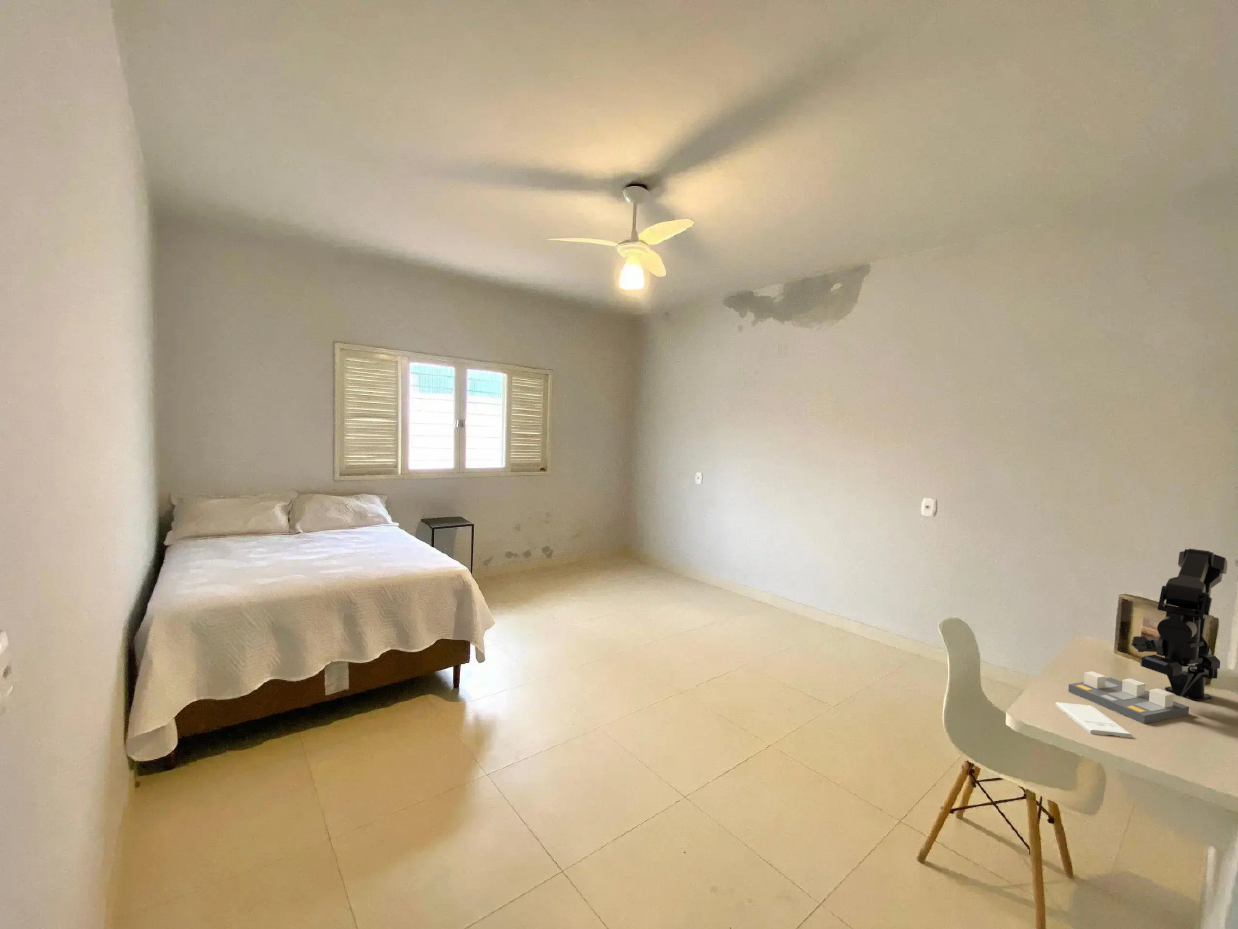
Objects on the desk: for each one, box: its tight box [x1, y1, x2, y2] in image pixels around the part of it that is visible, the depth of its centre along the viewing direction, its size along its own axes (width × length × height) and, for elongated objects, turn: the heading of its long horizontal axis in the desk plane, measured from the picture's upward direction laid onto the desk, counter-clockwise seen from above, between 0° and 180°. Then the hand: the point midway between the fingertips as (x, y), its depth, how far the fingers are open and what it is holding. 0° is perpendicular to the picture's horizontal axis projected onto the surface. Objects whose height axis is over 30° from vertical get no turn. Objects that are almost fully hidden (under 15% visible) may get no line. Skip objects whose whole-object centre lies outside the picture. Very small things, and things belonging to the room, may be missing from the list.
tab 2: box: [1122, 678, 1146, 697], centre depth 131 cm, size 3×3×3 cm
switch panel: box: [1068, 676, 1190, 724], centre depth 130 cm, size 16×16×2 cm
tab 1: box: [1083, 670, 1107, 689], centre depth 135 cm, size 3×3×3 cm
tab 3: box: [1149, 688, 1175, 708], centre depth 125 cm, size 3×3×3 cm
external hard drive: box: [1054, 701, 1133, 739], centre depth 121 cm, size 2×8×12 cm
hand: (1178, 695), depth 127 cm, fingers closed
